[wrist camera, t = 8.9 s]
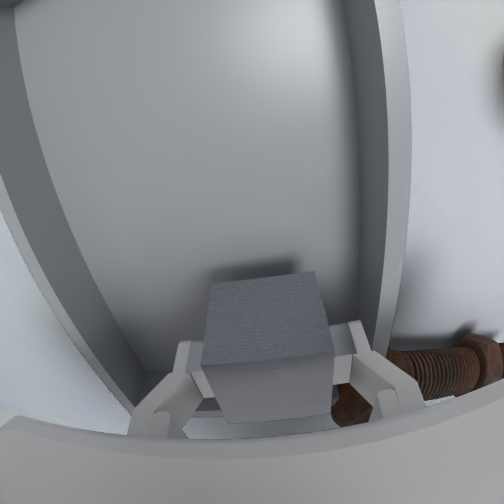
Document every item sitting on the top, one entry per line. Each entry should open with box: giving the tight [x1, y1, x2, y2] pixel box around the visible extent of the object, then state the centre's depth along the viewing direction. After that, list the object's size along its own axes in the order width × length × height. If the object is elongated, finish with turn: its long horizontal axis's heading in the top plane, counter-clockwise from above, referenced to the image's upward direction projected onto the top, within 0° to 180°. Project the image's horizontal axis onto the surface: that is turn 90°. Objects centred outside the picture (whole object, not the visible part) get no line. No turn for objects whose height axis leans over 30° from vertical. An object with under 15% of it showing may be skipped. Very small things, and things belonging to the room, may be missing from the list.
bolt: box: [331, 334, 504, 427], centre depth 16 cm, size 6×5×15 cm
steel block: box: [200, 271, 335, 423], centre depth 12 cm, size 4×4×4 cm
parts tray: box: [0, 0, 412, 417], centre depth 11 cm, size 15×24×4 cm, turn 9°
